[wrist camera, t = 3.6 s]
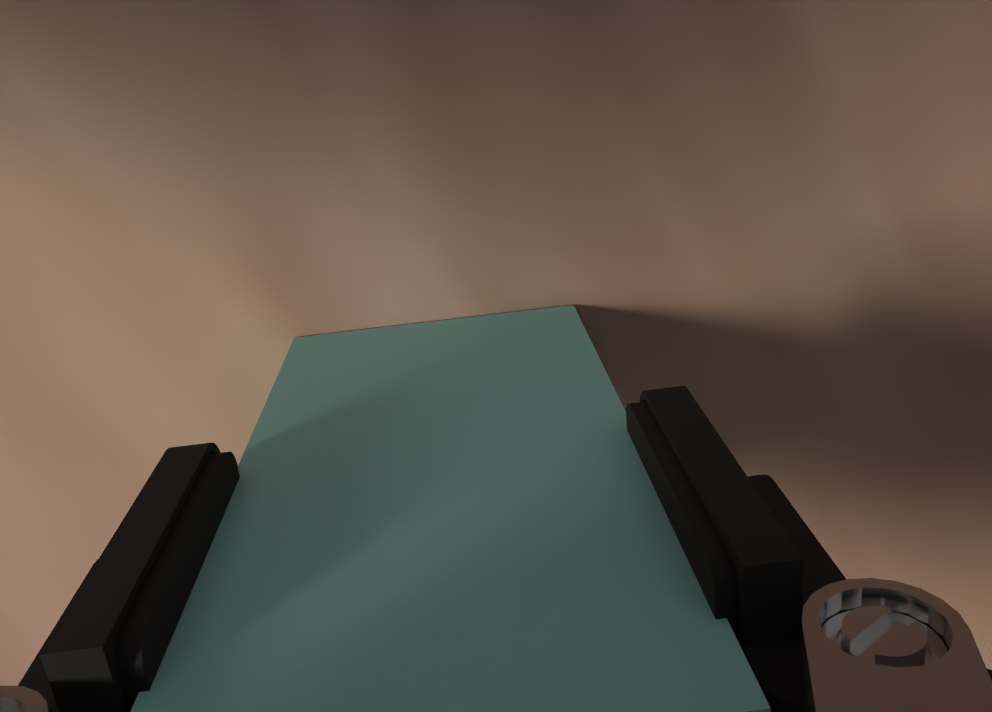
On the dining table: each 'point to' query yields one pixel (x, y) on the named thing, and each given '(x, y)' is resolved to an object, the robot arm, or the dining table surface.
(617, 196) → the dining table surface
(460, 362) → the teal domino
